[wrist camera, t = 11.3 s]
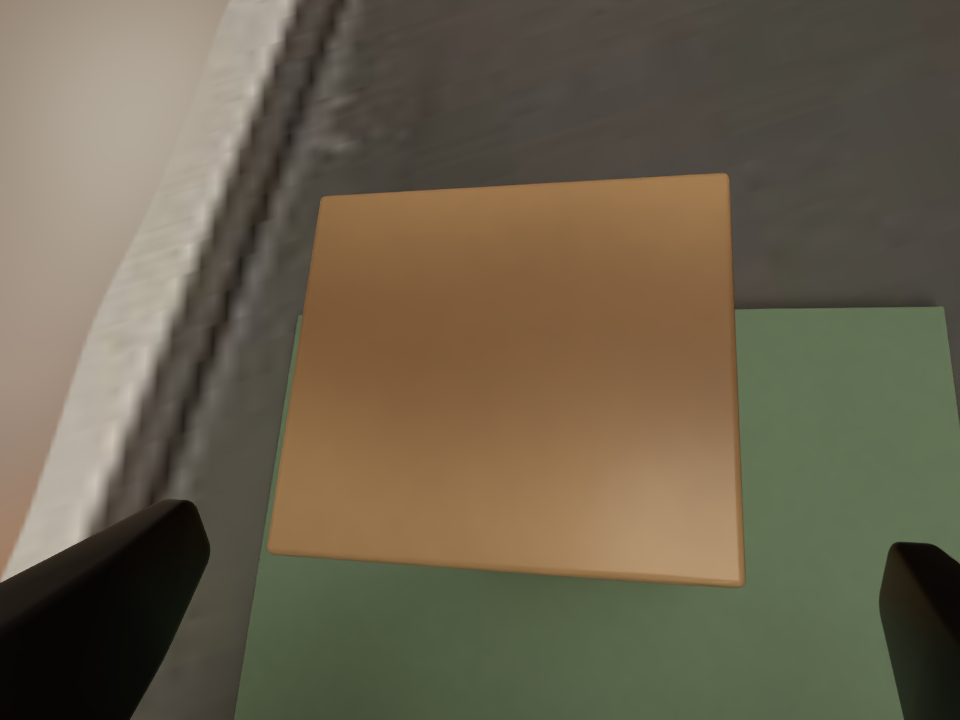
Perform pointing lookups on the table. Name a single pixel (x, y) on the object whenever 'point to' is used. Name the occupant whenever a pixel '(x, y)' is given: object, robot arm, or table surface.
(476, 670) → the green mat
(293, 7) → the table surface
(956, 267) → the table surface
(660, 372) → the maple block
